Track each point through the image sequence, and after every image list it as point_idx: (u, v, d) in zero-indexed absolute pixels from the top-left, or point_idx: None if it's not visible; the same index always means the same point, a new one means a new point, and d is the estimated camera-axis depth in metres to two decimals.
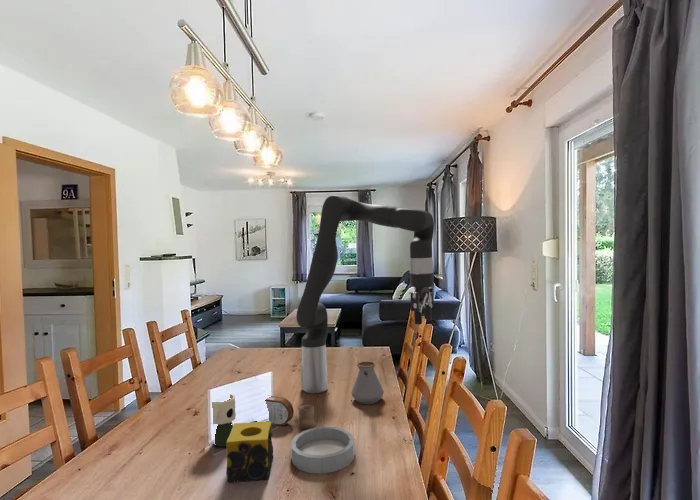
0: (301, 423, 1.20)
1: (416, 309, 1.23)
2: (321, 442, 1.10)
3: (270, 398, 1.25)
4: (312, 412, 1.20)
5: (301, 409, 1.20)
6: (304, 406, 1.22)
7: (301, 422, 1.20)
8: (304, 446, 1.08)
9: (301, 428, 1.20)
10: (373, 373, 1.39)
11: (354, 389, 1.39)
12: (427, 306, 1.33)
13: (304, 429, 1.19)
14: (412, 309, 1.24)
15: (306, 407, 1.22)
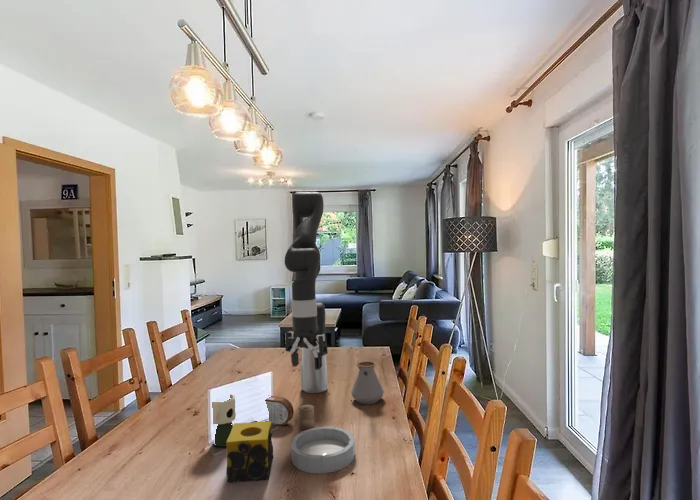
0: (301, 423, 1.20)
1: (326, 352, 1.18)
2: (321, 442, 1.10)
3: (270, 398, 1.25)
4: (312, 412, 1.20)
5: (301, 409, 1.20)
6: (304, 406, 1.22)
7: (301, 422, 1.20)
8: (304, 446, 1.08)
9: (301, 428, 1.20)
10: (373, 373, 1.39)
11: (354, 389, 1.39)
12: (295, 351, 1.23)
13: (304, 429, 1.19)
14: (323, 353, 1.17)
15: (306, 407, 1.22)
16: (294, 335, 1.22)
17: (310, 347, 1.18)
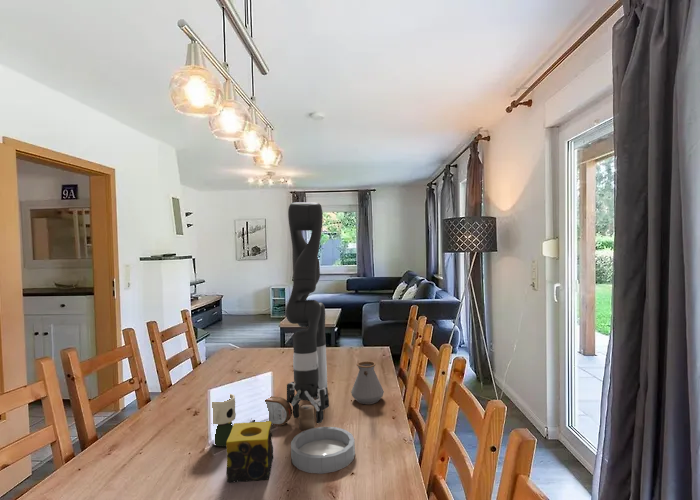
0: (301, 423, 1.20)
1: (327, 405, 1.18)
2: (321, 442, 1.10)
3: (269, 398, 1.25)
4: (312, 412, 1.20)
5: (301, 409, 1.20)
6: (304, 406, 1.22)
7: (301, 422, 1.20)
8: (304, 446, 1.08)
9: (301, 428, 1.20)
10: (373, 373, 1.39)
11: (354, 389, 1.39)
12: (296, 403, 1.23)
13: (304, 429, 1.19)
14: (325, 407, 1.16)
15: (306, 407, 1.22)
16: (295, 387, 1.22)
17: (311, 400, 1.18)
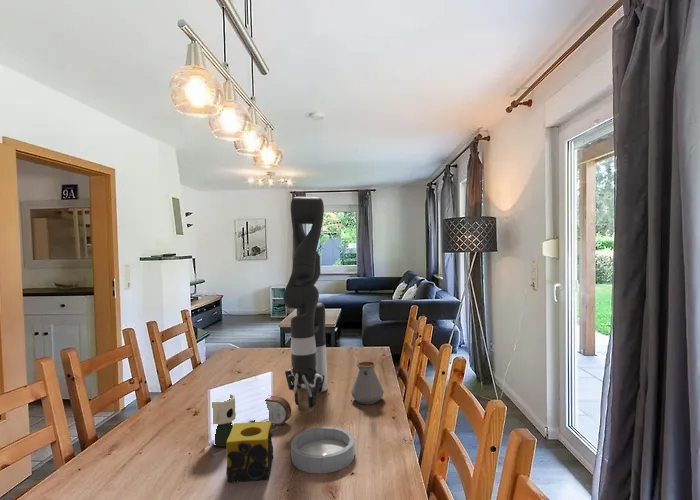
0: (300, 404, 1.20)
1: (320, 391, 1.19)
2: (321, 442, 1.10)
3: (268, 398, 1.25)
4: None
5: (300, 391, 1.20)
6: (303, 388, 1.23)
7: (300, 403, 1.20)
8: (304, 446, 1.08)
9: (300, 409, 1.20)
10: (373, 373, 1.39)
11: (354, 389, 1.39)
12: None
13: (303, 410, 1.20)
14: (317, 394, 1.18)
15: (305, 389, 1.22)
16: (293, 371, 1.22)
17: (306, 385, 1.19)
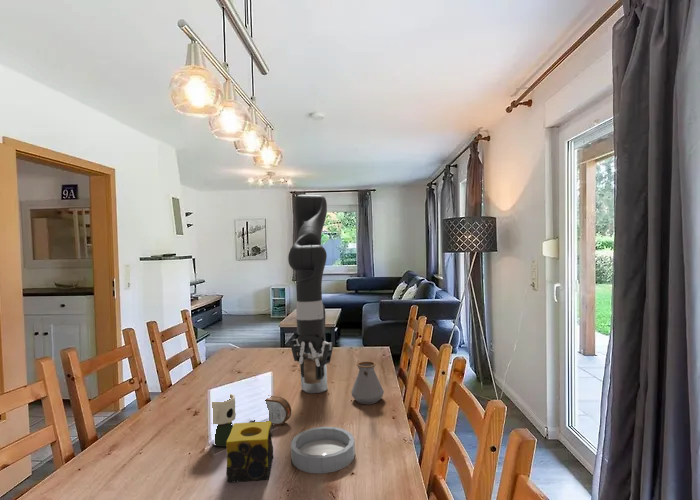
0: (306, 375, 1.10)
1: (328, 361, 1.09)
2: (321, 442, 1.10)
3: (268, 398, 1.25)
4: None
5: (306, 361, 1.10)
6: (309, 358, 1.12)
7: (306, 374, 1.10)
8: (304, 446, 1.08)
9: (306, 381, 1.10)
10: (373, 373, 1.39)
11: (354, 389, 1.39)
12: None
13: (309, 382, 1.09)
14: (325, 363, 1.08)
15: (311, 359, 1.11)
16: (299, 340, 1.12)
17: (314, 354, 1.09)
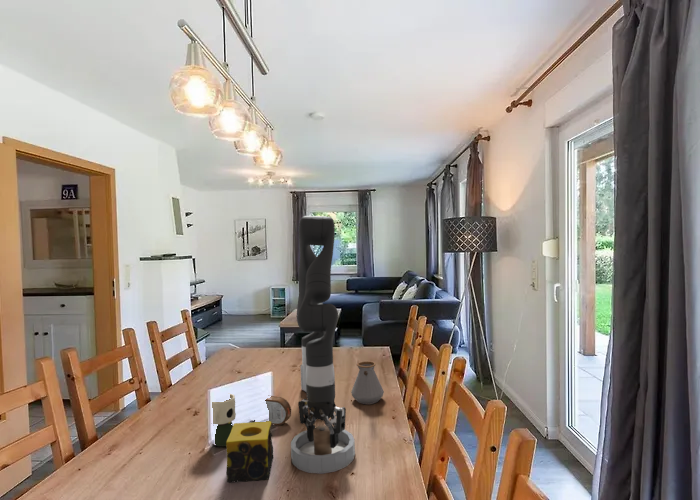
0: (316, 448, 1.03)
1: (343, 428, 1.02)
2: None
3: (268, 398, 1.25)
4: (329, 435, 1.04)
5: (317, 432, 1.03)
6: (319, 427, 1.06)
7: (316, 447, 1.03)
8: (304, 446, 1.08)
9: (316, 454, 1.03)
10: (373, 373, 1.39)
11: (354, 389, 1.39)
12: (311, 424, 1.07)
13: None
14: (340, 431, 1.01)
15: (322, 429, 1.05)
16: (308, 404, 1.06)
17: (326, 421, 1.02)
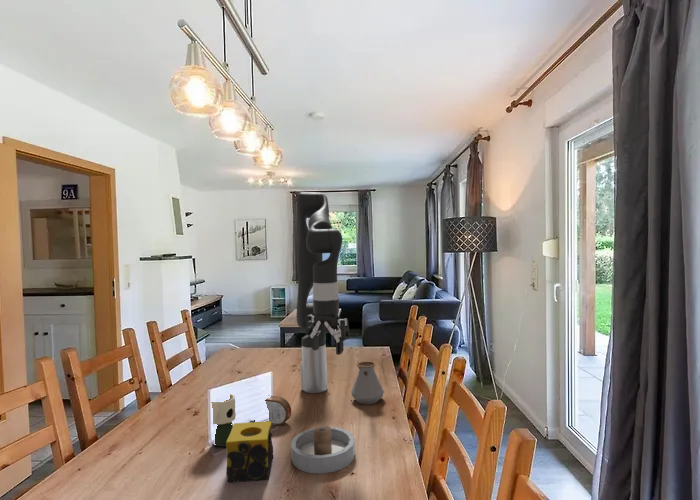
0: (316, 448, 1.03)
1: (348, 337, 1.14)
2: None
3: (268, 398, 1.25)
4: (329, 435, 1.04)
5: (317, 432, 1.03)
6: (320, 427, 1.06)
7: (316, 447, 1.03)
8: (304, 446, 1.08)
9: (316, 454, 1.03)
10: (373, 373, 1.39)
11: (354, 389, 1.39)
12: (315, 335, 1.20)
13: None
14: (345, 338, 1.13)
15: (322, 429, 1.05)
16: (315, 319, 1.18)
17: (331, 331, 1.14)
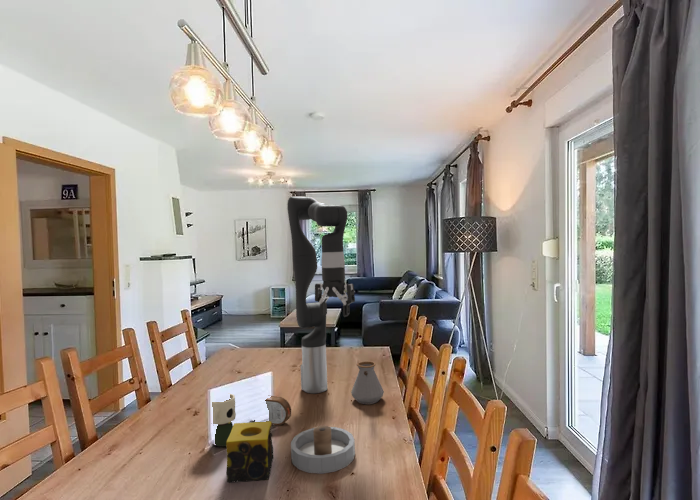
0: (316, 448, 1.03)
1: (353, 300, 1.27)
2: None
3: (268, 398, 1.25)
4: (329, 435, 1.04)
5: (317, 432, 1.03)
6: (320, 427, 1.06)
7: (316, 447, 1.03)
8: (304, 446, 1.08)
9: (316, 453, 1.03)
10: (373, 373, 1.39)
11: (354, 389, 1.39)
12: (324, 301, 1.33)
13: None
14: (351, 301, 1.26)
15: (322, 429, 1.05)
16: (323, 286, 1.31)
17: (339, 295, 1.27)
